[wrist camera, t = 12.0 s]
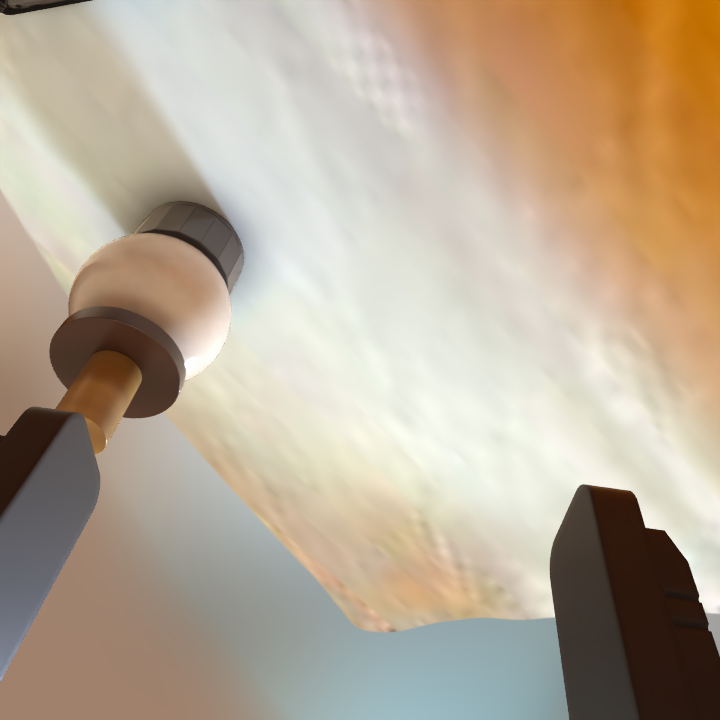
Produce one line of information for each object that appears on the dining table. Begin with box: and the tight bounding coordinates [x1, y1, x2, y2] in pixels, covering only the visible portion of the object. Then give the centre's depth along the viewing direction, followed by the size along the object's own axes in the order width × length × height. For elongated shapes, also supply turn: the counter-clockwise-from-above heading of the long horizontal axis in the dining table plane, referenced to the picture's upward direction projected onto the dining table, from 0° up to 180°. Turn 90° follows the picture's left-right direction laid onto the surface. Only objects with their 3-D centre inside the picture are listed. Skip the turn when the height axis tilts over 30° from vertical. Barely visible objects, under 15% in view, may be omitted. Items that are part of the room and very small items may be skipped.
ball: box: [68, 233, 231, 382], centre depth 37 cm, size 9×9×9 cm
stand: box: [133, 202, 244, 296], centre depth 42 cm, size 7×7×4 cm
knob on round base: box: [50, 306, 186, 454], centre depth 32 cm, size 7×7×6 cm
